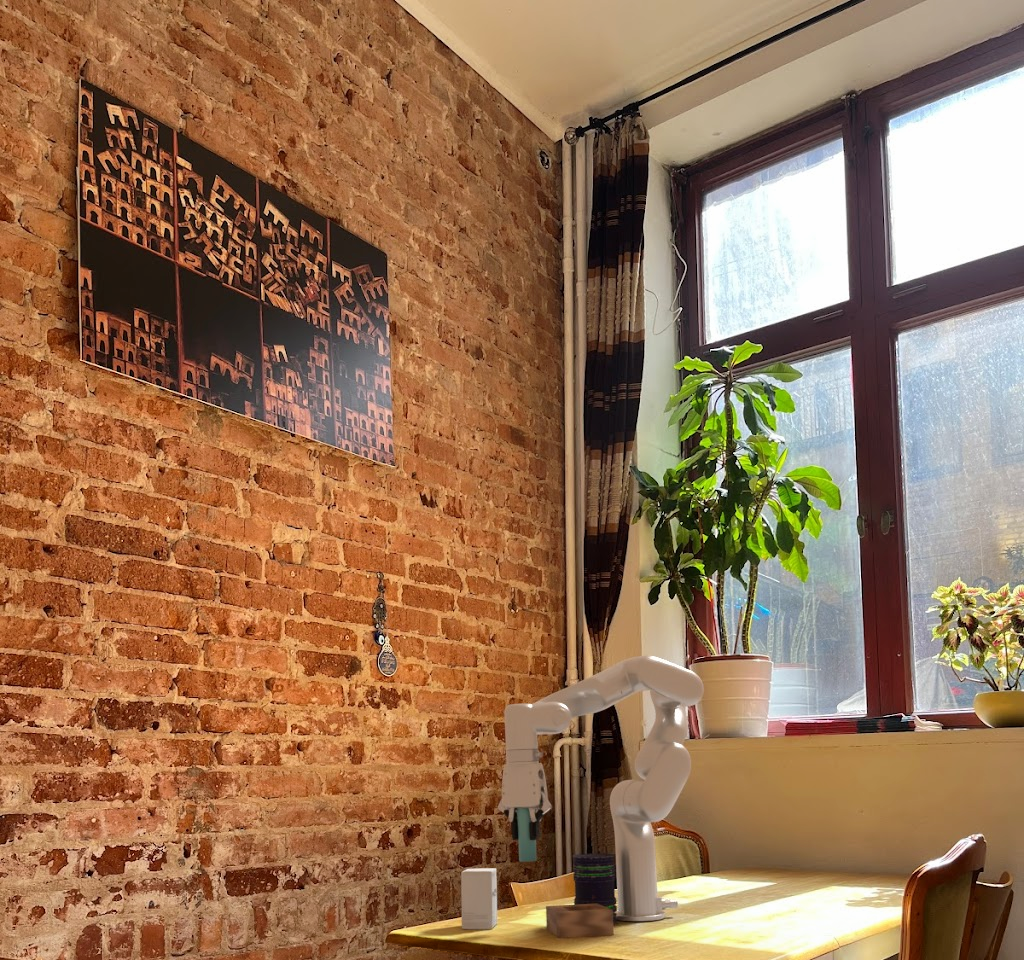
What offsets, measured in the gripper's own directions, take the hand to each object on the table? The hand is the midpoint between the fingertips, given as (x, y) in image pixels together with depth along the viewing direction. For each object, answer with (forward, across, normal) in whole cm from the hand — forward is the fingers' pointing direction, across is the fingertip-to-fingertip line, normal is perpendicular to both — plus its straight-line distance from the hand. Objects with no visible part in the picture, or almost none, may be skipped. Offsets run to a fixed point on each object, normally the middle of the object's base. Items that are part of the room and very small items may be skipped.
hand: (525, 838), depth 259 cm
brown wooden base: (+20, -12, -1) cm, 23 cm away
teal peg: (+5, 0, -1) cm, 5 cm away
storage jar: (+20, -10, -14) cm, 26 cm away
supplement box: (+20, +12, +1) cm, 23 cm away
